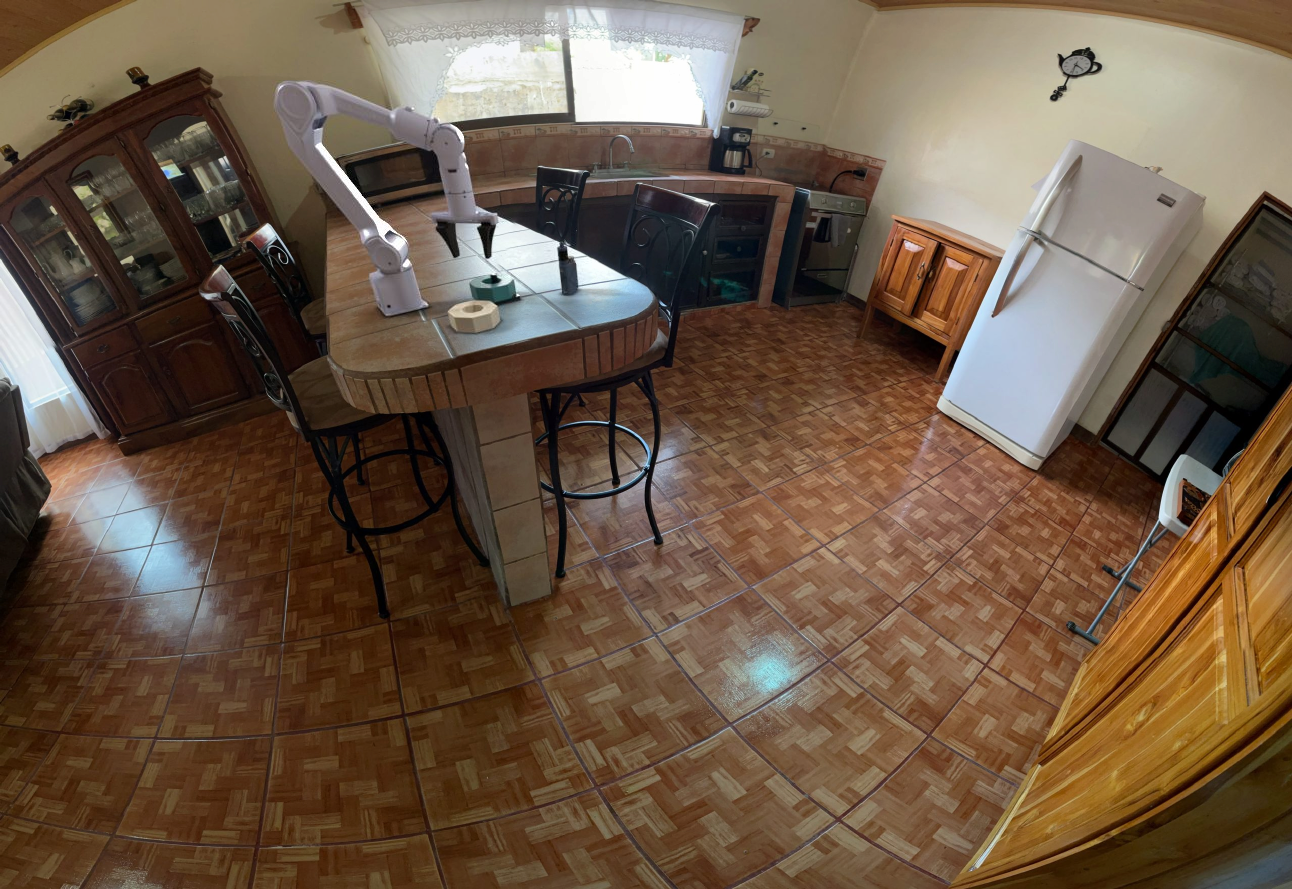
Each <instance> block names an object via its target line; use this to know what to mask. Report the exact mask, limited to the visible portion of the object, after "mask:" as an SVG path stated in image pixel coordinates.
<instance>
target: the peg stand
mask: <svg viewBox="0 0 1292 889" xmlns="http://www.w3.org/2000/svg"><path fill="white" fill-rule="evenodd" d="M489 274H490V277H491V282H492V284H495V283H499V282H498V276H497V274H498V273H496V272H492V273H489ZM517 301H521V295H520V294H518V293H517V292H516V293H515V294H514V295H513V296H512V297H511V298H510V299H506V300H502V301H498V302H492V303H494V304H495V305H496V306H497V307H498V306H502V305H505V304H510V303H513V302H517Z"/></svg>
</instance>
